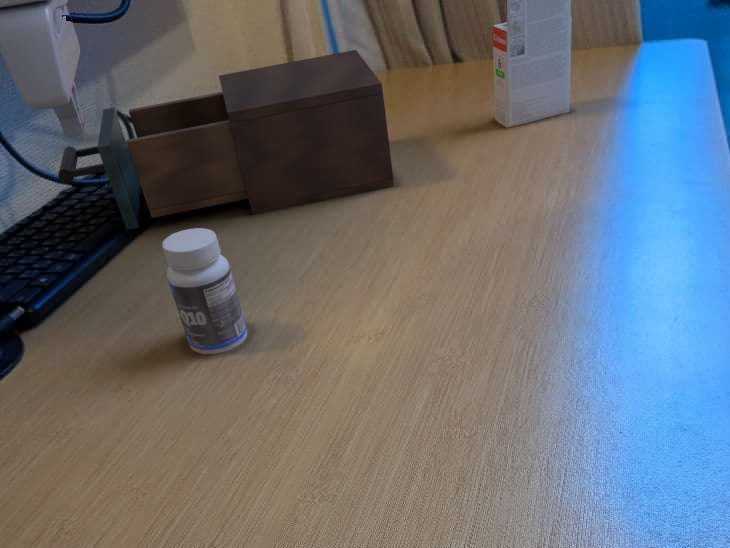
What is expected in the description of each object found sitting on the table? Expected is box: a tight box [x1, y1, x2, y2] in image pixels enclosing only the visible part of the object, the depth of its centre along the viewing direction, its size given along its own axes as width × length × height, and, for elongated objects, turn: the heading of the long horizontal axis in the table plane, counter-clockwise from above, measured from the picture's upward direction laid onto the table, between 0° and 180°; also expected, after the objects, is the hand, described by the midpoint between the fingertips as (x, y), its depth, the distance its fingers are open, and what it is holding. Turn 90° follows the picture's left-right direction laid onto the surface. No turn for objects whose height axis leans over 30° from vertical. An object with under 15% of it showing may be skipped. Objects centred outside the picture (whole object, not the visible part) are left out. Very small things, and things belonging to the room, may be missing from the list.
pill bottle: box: [161, 227, 248, 355], centre depth 63 cm, size 5×5×8 cm
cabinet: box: [218, 49, 395, 216], centre depth 85 cm, size 15×14×10 cm
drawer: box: [57, 91, 248, 231], centre depth 84 cm, size 18×13×8 cm
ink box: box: [492, 0, 572, 129], centre depth 90 cm, size 4×8×15 cm, turn 110°
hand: (76, 132), depth 81 cm, fingers closed
